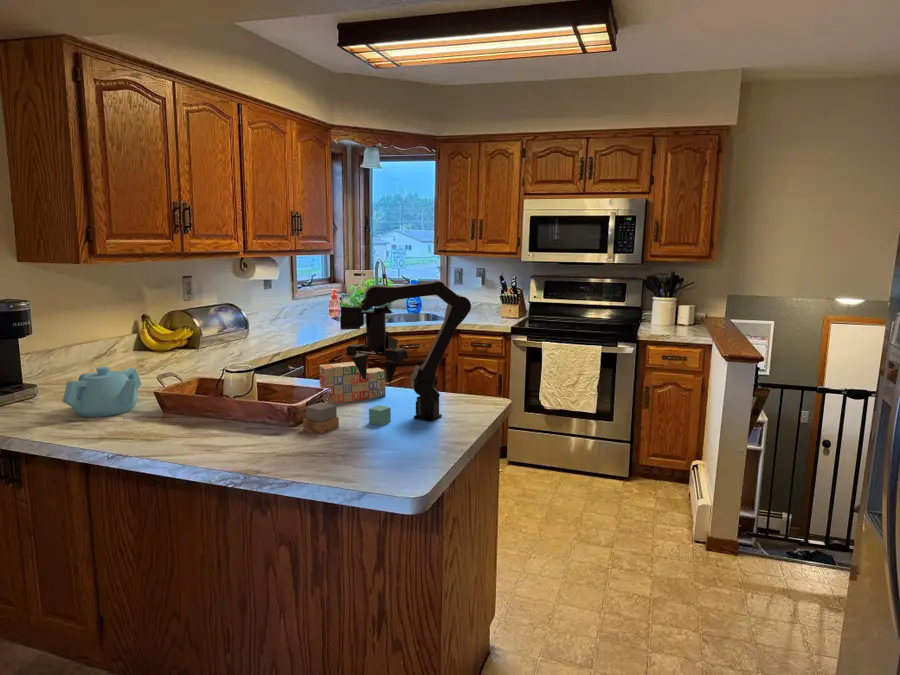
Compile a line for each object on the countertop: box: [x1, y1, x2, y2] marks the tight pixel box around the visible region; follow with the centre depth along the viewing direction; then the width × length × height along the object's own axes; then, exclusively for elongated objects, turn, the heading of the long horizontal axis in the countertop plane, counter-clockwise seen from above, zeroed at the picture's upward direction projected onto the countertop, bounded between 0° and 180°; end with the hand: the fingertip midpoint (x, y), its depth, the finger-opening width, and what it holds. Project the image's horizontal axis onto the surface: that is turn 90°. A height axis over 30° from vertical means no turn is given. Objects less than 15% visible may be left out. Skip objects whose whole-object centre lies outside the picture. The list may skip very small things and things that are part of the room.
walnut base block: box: [302, 416, 340, 435], centre depth 166 cm, size 7×7×4 cm
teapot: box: [62, 366, 142, 418], centre depth 182 cm, size 19×19×14 cm
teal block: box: [368, 404, 392, 427], centre depth 172 cm, size 4×4×4 cm
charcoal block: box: [305, 401, 338, 422], centre depth 166 cm, size 6×6×4 cm
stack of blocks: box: [318, 361, 386, 405], centre depth 198 cm, size 21×6×12 cm, turn 119°
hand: (377, 380), depth 173 cm, fingers open, 9 cm apart
